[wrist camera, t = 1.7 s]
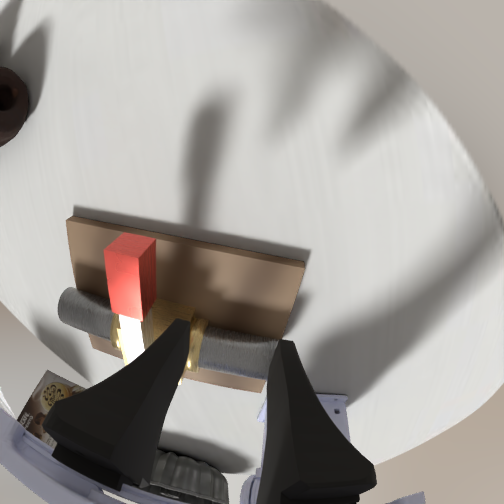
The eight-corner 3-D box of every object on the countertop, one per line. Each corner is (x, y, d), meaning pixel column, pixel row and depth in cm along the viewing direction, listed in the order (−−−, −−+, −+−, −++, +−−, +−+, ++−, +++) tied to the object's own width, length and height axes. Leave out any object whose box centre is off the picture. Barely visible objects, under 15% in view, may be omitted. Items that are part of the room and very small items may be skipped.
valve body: (286, 321, 22) (286, 367, 17) (272, 359, 24) (270, 402, 20) (76, 271, 22) (46, 300, 17) (85, 310, 24) (60, 341, 20)
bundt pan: (249, 480, 49) (245, 512, 40) (161, 471, 54) (153, 498, 45) (206, 445, 38) (197, 492, 29) (103, 429, 43) (89, 462, 34)
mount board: (304, 261, 20) (305, 268, 19) (261, 385, 27) (260, 393, 26) (72, 215, 20) (65, 220, 19) (96, 342, 27) (92, 347, 26)
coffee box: (58, 387, 37) (25, 447, 22) (47, 368, 34) (7, 432, 19) (95, 405, 37) (64, 473, 22) (85, 387, 34) (47, 461, 19)
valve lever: (165, 374, 19) (156, 399, 17) (136, 365, 19) (124, 388, 17) (161, 239, 14) (140, 263, 11) (119, 230, 14) (94, 252, 11)
